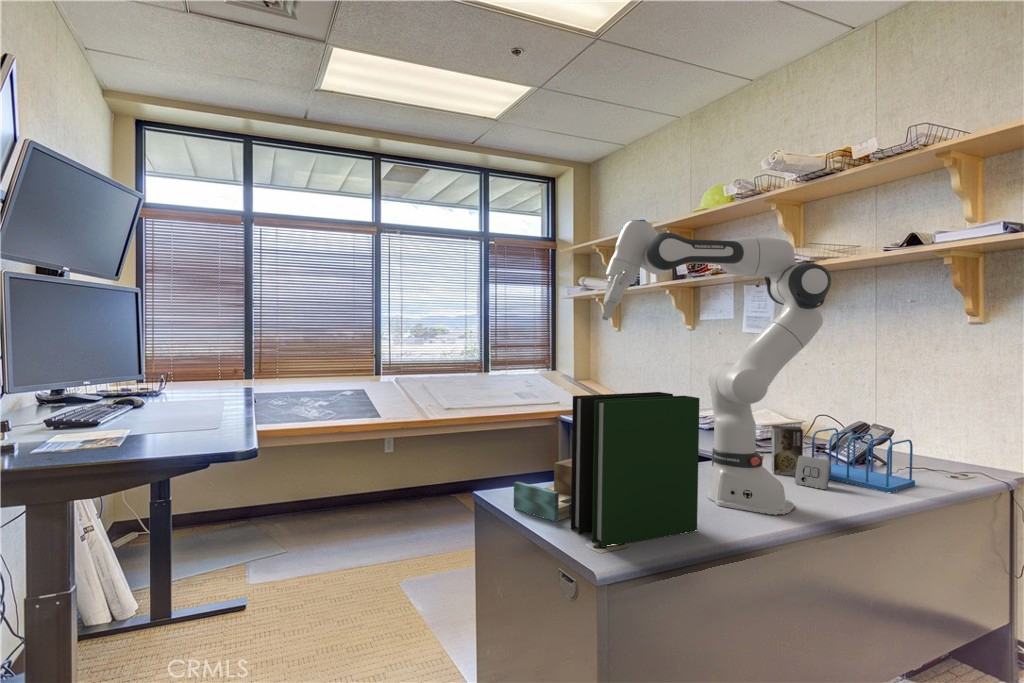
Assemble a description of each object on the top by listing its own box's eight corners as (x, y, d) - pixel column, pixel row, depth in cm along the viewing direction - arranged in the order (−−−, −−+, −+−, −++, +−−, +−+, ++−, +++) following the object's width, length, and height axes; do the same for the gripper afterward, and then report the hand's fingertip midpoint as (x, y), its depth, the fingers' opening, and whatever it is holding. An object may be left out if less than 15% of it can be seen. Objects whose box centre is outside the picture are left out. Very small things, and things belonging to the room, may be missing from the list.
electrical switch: (794, 484, 173) (795, 455, 174) (800, 483, 177) (802, 454, 177) (826, 491, 166) (827, 460, 167) (832, 490, 169) (834, 460, 170)
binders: (603, 549, 118) (606, 402, 118) (567, 527, 131) (569, 395, 131) (697, 531, 130) (699, 397, 129) (655, 512, 143) (657, 391, 143)
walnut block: (588, 490, 152) (589, 462, 152) (571, 496, 146) (571, 466, 146) (571, 486, 156) (571, 458, 156) (553, 491, 150) (554, 462, 150)
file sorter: (807, 475, 186) (808, 430, 186) (834, 469, 195) (835, 426, 195) (889, 493, 165) (890, 443, 164) (915, 486, 174) (916, 438, 174)
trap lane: (600, 504, 149) (600, 479, 149) (554, 521, 135) (554, 493, 135) (560, 493, 159) (560, 469, 159) (513, 508, 144) (514, 482, 144)
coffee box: (799, 472, 189) (800, 426, 189) (802, 477, 183) (803, 429, 182) (770, 470, 192) (771, 424, 192) (772, 474, 186) (773, 427, 185)
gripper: (636, 272, 147) (619, 320, 147) (627, 281, 167) (612, 324, 167) (614, 264, 147) (597, 312, 148) (608, 275, 168) (593, 317, 168)
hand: (605, 318), depth 158 cm, fingers open, 8 cm apart
